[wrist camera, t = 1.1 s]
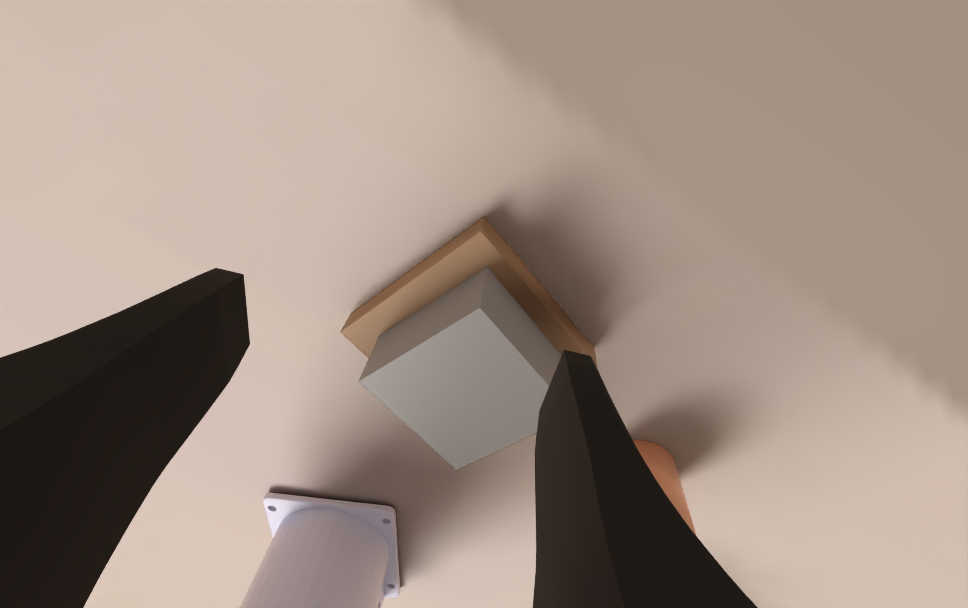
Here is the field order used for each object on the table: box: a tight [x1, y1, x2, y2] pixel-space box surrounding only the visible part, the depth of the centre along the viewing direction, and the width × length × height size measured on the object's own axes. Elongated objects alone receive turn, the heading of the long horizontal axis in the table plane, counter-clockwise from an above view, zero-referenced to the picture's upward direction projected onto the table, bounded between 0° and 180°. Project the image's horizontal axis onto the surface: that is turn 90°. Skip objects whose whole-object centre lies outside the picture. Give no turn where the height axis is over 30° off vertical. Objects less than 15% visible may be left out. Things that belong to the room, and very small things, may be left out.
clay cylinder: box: [633, 440, 696, 535], centre depth 25 cm, size 4×4×4 cm
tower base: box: [341, 217, 597, 367], centre depth 23 cm, size 8×8×2 cm
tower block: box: [359, 267, 561, 470], centre depth 21 cm, size 6×6×3 cm
